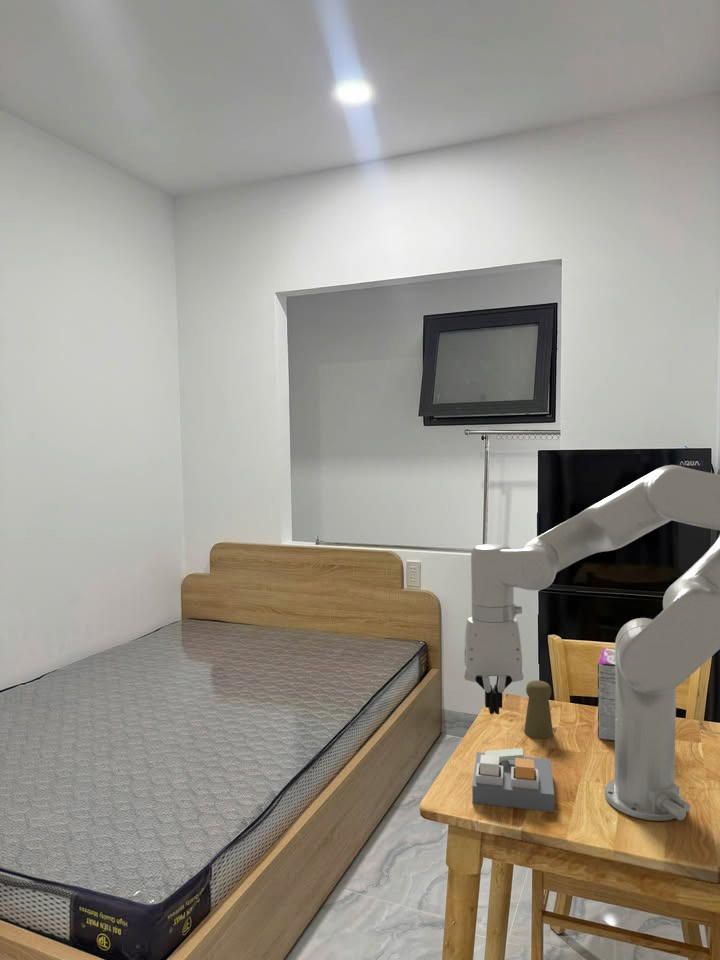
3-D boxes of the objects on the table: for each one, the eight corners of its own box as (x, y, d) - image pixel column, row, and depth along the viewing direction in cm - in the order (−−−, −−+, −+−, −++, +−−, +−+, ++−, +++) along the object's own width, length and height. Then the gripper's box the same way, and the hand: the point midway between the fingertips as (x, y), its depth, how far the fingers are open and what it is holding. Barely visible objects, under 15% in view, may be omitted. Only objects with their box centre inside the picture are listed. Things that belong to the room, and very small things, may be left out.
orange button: (533, 770, 118) (533, 759, 118) (534, 779, 115) (534, 768, 115) (515, 768, 119) (515, 757, 119) (515, 777, 116) (515, 766, 116)
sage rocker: (523, 752, 124) (523, 748, 124) (524, 759, 122) (523, 754, 122) (486, 755, 126) (485, 750, 126) (485, 761, 123) (484, 757, 123)
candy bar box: (601, 719, 151) (601, 647, 150) (625, 722, 149) (626, 649, 148) (596, 739, 140) (596, 662, 140) (621, 743, 138) (622, 665, 138)
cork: (518, 730, 145) (518, 680, 145) (540, 724, 148) (540, 675, 147) (536, 741, 140) (536, 689, 139) (559, 735, 142) (559, 684, 142)
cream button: (499, 767, 120) (499, 756, 120) (498, 775, 117) (498, 764, 117) (481, 765, 120) (481, 754, 120) (480, 774, 117) (480, 762, 117)
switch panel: (550, 774, 126) (550, 752, 125) (554, 811, 113) (554, 787, 113) (476, 767, 129) (476, 745, 128) (472, 802, 116) (472, 778, 116)
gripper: (530, 607, 126) (531, 703, 126) (450, 607, 127) (451, 703, 128) (538, 617, 118) (538, 720, 119) (452, 617, 119) (454, 719, 120)
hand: (493, 711), depth 123 cm, fingers closed
